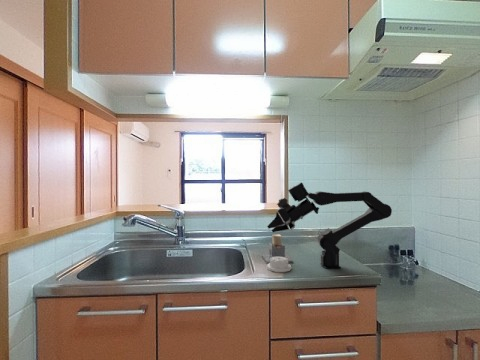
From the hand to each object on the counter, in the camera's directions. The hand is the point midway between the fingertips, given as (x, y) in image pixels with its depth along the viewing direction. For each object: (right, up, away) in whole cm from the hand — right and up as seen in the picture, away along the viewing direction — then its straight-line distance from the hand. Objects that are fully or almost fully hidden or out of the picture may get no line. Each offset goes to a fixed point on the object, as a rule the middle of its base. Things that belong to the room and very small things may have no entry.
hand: (270, 229), depth 118 cm
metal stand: (+4, -15, +8) cm, 18 cm away
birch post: (+4, -14, +8) cm, 17 cm away
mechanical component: (+3, -16, -5) cm, 17 cm away
